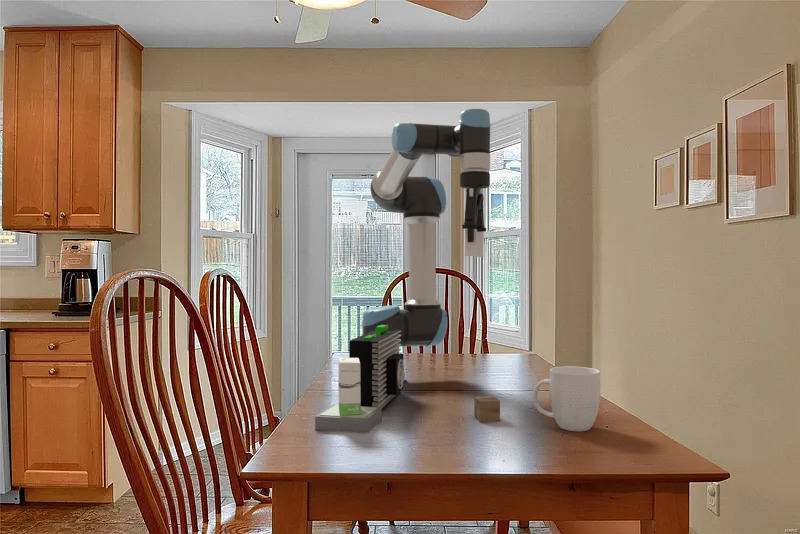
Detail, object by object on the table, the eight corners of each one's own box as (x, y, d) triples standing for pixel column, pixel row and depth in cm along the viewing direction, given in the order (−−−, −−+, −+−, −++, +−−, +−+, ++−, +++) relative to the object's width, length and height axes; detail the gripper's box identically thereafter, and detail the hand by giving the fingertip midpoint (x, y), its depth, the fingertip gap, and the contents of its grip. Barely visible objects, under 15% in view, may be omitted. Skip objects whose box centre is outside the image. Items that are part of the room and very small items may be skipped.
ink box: (361, 415, 145) (361, 362, 145) (338, 415, 145) (338, 362, 145) (359, 406, 154) (359, 356, 154) (338, 407, 153) (338, 357, 153)
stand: (333, 417, 157) (333, 404, 157) (381, 420, 154) (381, 406, 154) (315, 429, 145) (315, 415, 145) (366, 433, 142) (366, 418, 142)
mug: (527, 429, 146) (527, 370, 146) (538, 418, 156) (538, 363, 156) (596, 436, 140) (596, 375, 140) (603, 424, 150) (603, 368, 150)
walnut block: (474, 417, 157) (474, 396, 157) (494, 417, 158) (494, 396, 158) (479, 422, 152) (479, 401, 152) (500, 422, 153) (500, 400, 153)
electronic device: (390, 417, 158) (390, 334, 158) (346, 414, 160) (346, 333, 160) (411, 394, 185) (411, 323, 185) (373, 392, 187) (374, 322, 187)
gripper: (467, 178, 177) (466, 256, 177) (452, 165, 153) (451, 255, 153) (494, 177, 175) (494, 256, 176) (484, 164, 151) (484, 255, 151)
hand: (474, 256), depth 164 cm, fingers open, 13 cm apart
